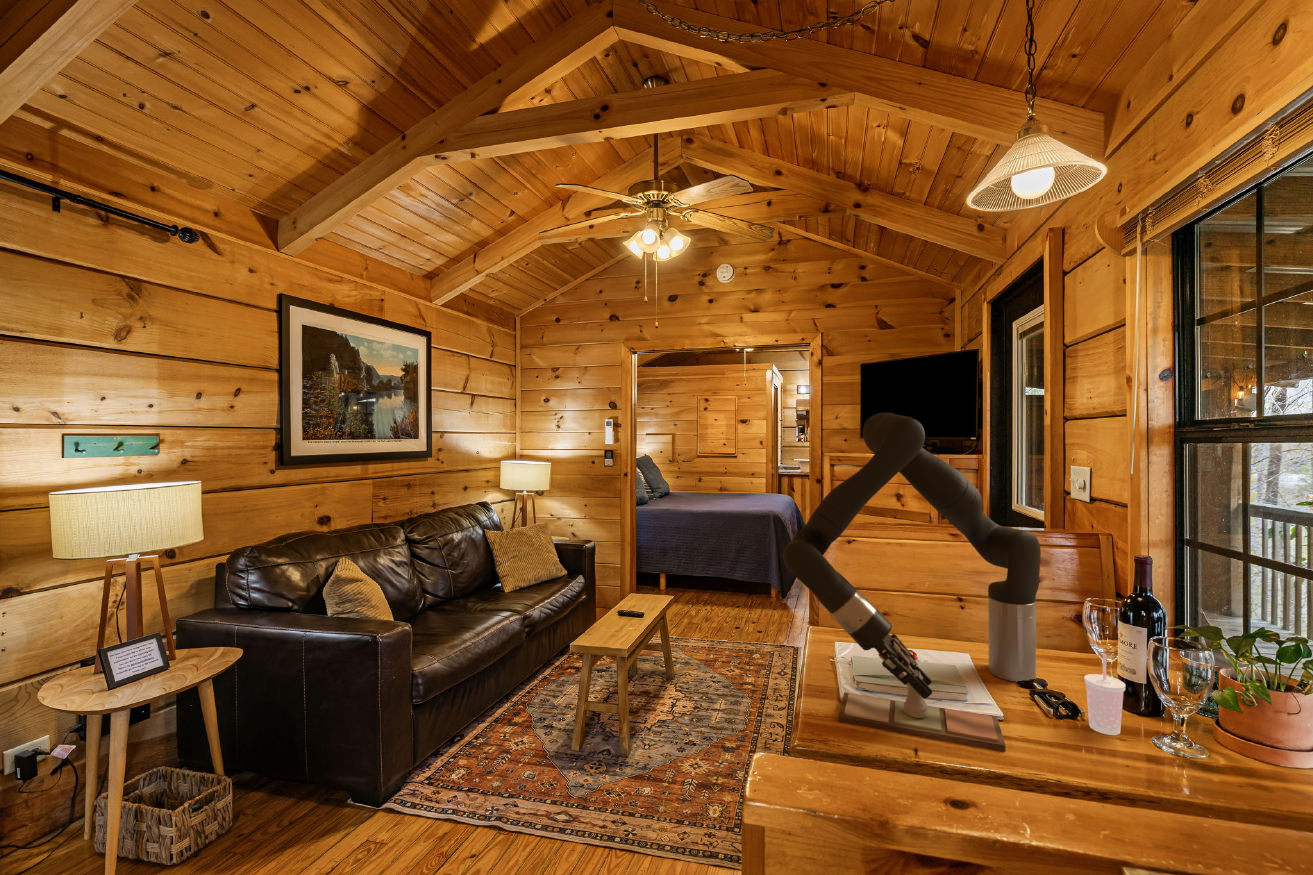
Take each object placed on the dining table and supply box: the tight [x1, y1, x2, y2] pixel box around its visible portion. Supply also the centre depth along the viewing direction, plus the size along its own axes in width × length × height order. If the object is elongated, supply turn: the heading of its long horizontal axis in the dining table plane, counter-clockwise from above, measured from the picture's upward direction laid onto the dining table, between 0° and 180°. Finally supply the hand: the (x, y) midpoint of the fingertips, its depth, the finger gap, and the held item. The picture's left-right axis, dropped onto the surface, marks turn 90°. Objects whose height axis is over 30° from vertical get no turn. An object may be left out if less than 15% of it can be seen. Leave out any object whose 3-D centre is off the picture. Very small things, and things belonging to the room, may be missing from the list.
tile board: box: [837, 691, 1006, 752], centre depth 112 cm, size 11×28×1 cm, turn 67°
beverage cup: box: [1083, 653, 1126, 736], centre depth 109 cm, size 6×6×14 cm
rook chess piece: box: [903, 670, 929, 718], centre depth 112 cm, size 4×4×8 cm
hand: (928, 689), depth 112 cm, fingers open, 4 cm apart
